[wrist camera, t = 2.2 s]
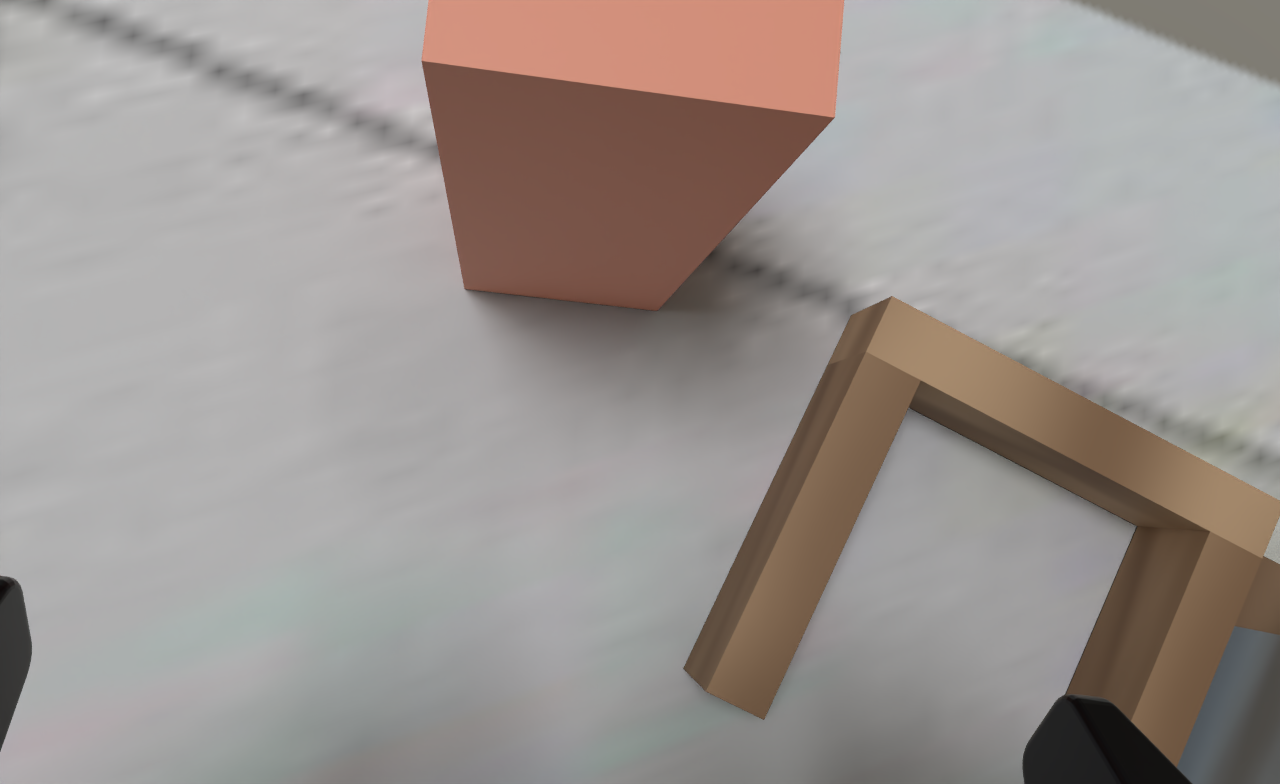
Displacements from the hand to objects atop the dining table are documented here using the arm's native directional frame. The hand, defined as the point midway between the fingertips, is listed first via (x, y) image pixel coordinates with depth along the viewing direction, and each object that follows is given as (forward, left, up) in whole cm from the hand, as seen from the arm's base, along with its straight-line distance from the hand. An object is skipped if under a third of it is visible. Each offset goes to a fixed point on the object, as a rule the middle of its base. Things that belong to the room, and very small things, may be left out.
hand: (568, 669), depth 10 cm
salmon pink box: (+6, -3, -13) cm, 15 cm away
